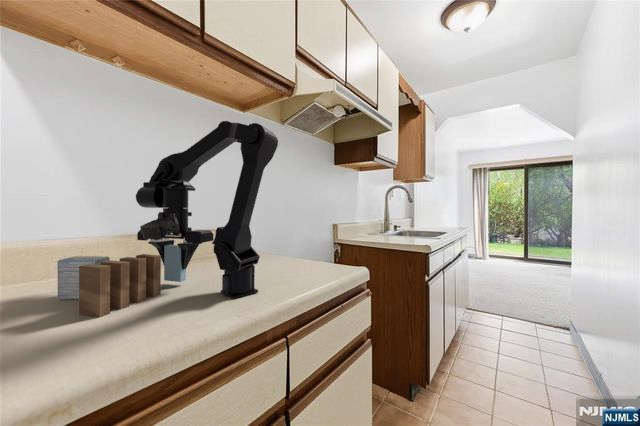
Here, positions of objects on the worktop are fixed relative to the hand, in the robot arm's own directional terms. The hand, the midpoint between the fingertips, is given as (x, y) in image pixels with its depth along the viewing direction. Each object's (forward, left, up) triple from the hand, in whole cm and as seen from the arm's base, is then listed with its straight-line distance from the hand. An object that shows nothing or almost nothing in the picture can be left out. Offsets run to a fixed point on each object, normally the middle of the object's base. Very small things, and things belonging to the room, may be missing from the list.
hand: (175, 268), depth 67 cm
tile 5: (+17, +9, -4) cm, 20 cm away
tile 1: (0, 0, -3) cm, 3 cm away
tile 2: (+7, +4, -4) cm, 9 cm away
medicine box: (+17, -5, -4) cm, 18 cm away
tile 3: (+10, +5, -4) cm, 13 cm away
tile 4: (+14, +7, -4) cm, 16 cm away
